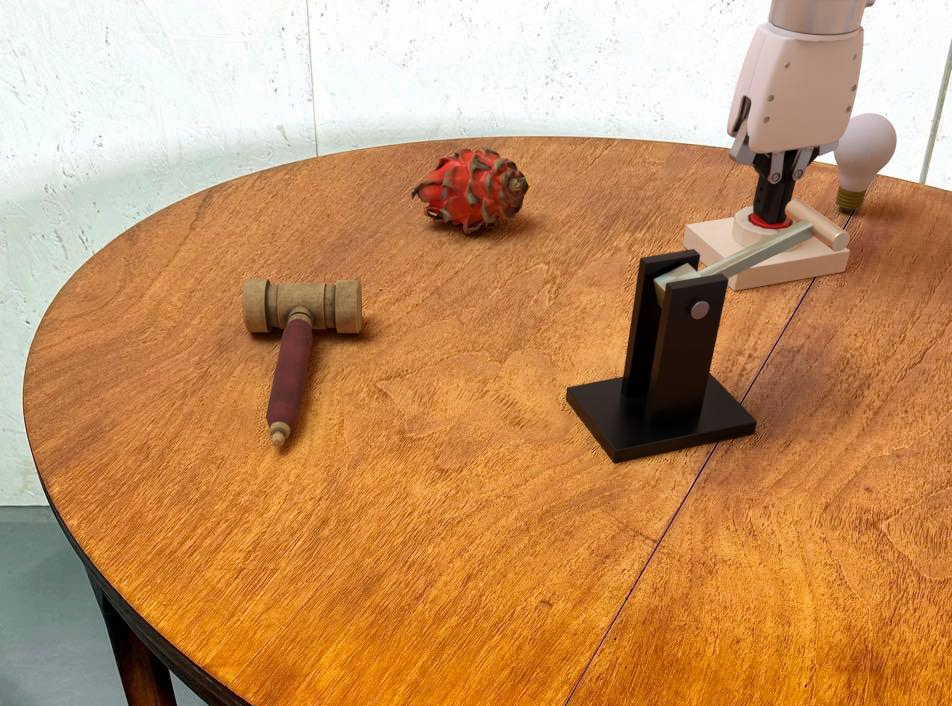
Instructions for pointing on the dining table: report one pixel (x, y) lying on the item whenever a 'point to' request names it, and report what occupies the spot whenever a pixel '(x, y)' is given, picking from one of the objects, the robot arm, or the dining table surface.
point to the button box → (788, 265)
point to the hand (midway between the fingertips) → (768, 216)
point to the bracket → (665, 371)
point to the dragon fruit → (473, 189)
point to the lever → (765, 247)
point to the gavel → (297, 335)
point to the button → (761, 223)
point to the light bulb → (862, 156)
